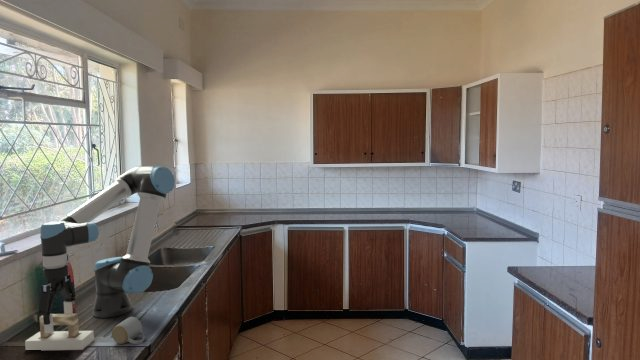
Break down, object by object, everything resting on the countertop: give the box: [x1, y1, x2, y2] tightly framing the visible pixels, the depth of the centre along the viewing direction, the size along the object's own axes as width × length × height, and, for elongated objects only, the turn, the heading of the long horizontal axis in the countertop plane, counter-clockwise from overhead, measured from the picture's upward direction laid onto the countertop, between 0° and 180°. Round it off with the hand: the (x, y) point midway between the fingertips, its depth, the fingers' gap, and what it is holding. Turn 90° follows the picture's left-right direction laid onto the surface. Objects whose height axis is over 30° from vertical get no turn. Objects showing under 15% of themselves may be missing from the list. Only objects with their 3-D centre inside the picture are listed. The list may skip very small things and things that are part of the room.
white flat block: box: [24, 330, 95, 351], centre depth 162 cm, size 20×8×4 cm, turn 90°
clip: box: [38, 313, 80, 339], centre depth 162 cm, size 12×3×11 cm, turn 90°
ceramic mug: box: [111, 316, 145, 345], centre depth 165 cm, size 11×8×8 cm
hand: (59, 325), depth 162 cm, fingers open, 11 cm apart
